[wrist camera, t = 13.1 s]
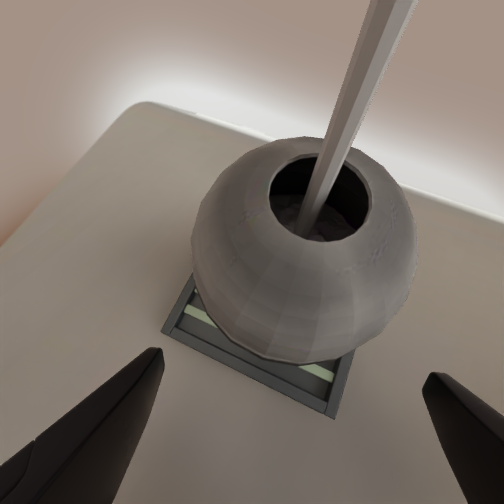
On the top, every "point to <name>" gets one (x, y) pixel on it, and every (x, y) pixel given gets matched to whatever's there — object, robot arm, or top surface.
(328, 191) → the beverage cup
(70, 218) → the top surface
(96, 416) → the robot arm
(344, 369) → the drying rack
